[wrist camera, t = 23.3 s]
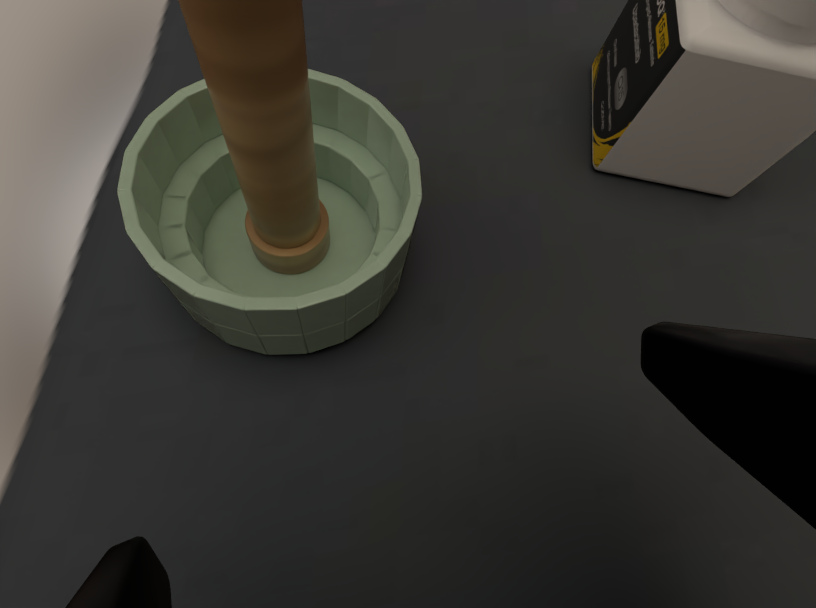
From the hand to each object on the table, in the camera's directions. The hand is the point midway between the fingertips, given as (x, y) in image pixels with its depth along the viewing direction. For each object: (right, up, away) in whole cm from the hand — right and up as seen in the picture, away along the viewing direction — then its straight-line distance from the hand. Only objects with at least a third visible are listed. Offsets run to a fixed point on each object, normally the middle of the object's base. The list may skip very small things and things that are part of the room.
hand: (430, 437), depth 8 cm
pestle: (-5, +5, +11) cm, 13 cm away
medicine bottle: (+12, +11, +17) cm, 23 cm away
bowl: (-5, +4, +11) cm, 13 cm away
